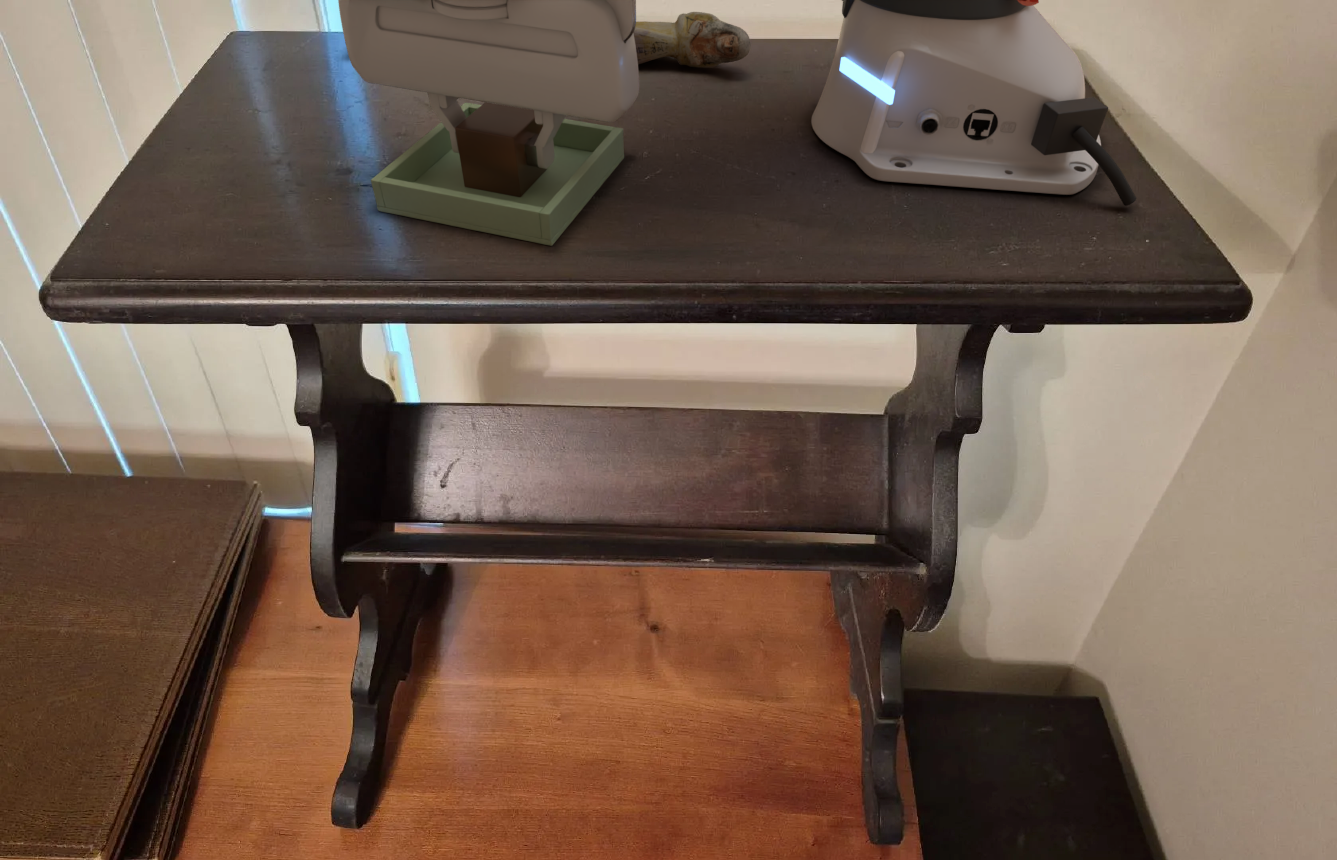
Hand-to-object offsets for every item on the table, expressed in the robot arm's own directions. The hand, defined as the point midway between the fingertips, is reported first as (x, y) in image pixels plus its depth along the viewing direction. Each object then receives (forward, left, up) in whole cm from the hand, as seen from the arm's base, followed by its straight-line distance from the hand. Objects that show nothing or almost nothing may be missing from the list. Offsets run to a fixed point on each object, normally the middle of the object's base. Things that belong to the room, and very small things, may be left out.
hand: (503, 157), depth 63 cm
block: (0, 0, -2) cm, 2 cm away
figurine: (-4, -25, -2) cm, 25 cm away
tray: (0, 0, -2) cm, 2 cm away
